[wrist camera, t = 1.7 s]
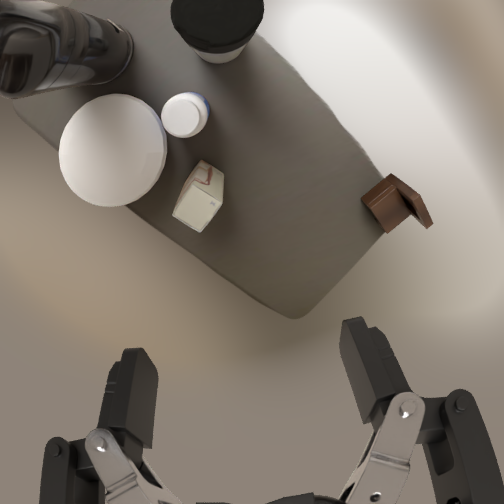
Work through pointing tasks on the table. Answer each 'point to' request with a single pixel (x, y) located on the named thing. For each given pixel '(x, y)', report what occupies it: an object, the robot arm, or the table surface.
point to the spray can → (217, 26)
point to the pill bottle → (185, 114)
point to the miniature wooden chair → (395, 203)
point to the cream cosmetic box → (200, 196)
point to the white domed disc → (113, 150)
